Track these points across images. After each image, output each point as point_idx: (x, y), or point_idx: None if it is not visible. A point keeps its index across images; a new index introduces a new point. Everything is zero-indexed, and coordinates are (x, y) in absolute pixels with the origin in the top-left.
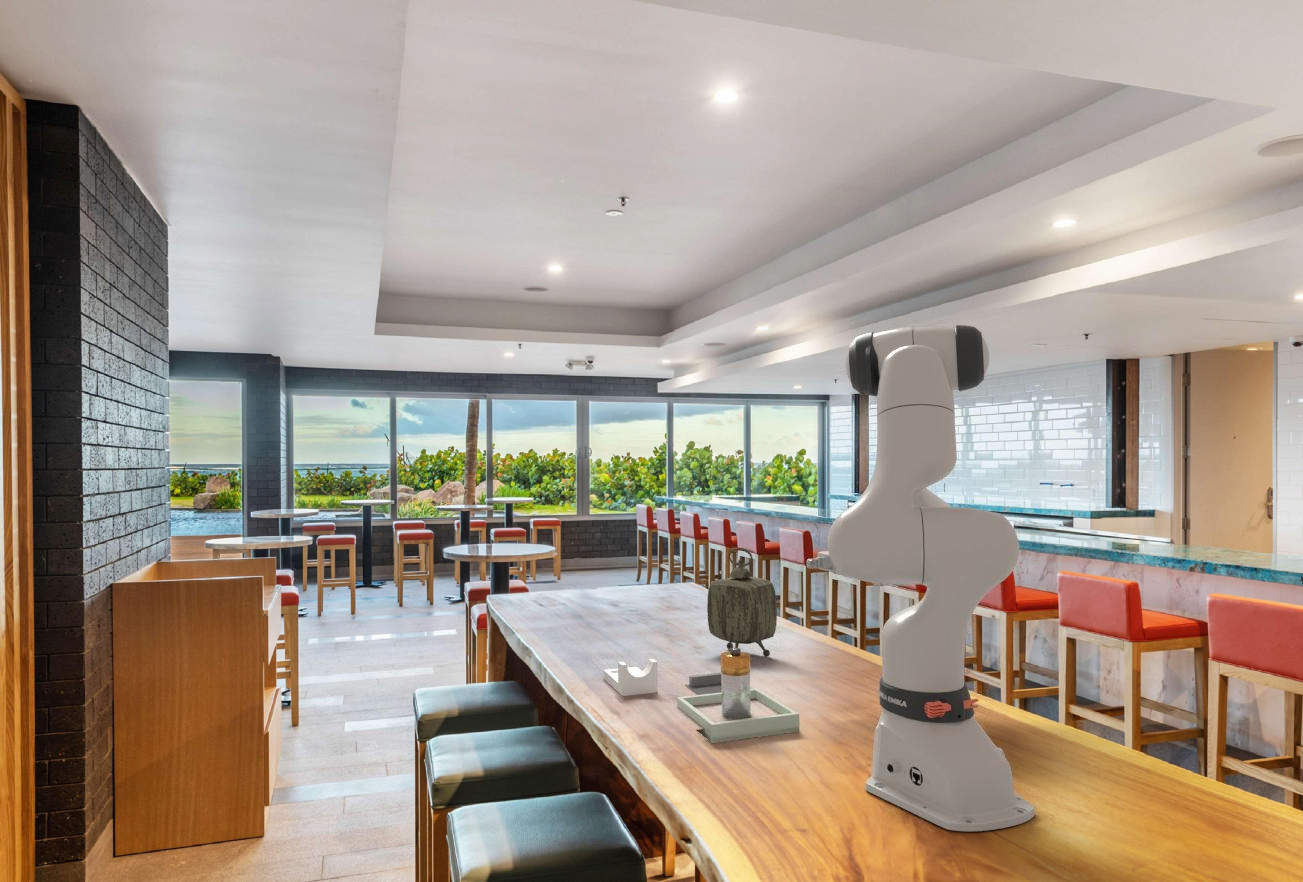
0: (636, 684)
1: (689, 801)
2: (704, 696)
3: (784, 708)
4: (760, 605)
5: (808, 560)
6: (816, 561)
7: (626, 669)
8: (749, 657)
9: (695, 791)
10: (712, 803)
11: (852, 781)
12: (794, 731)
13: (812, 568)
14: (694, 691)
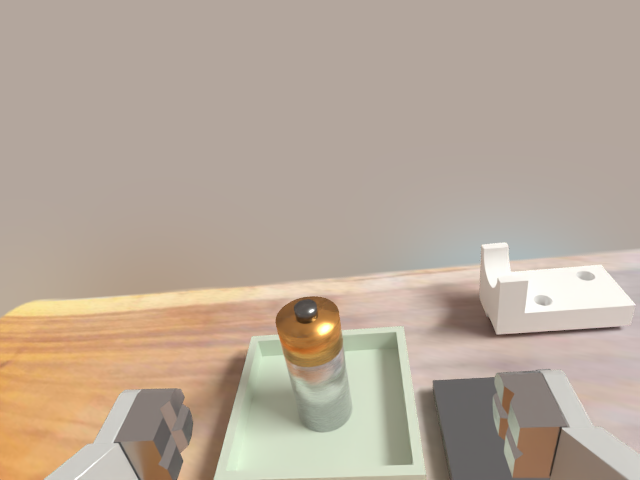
0: (486, 288)
1: (135, 304)
2: (400, 364)
3: (263, 470)
4: None
5: (533, 371)
6: (511, 422)
7: (483, 255)
8: (283, 336)
9: (149, 312)
10: (115, 318)
11: (9, 473)
12: None
13: (497, 426)
14: (491, 379)
